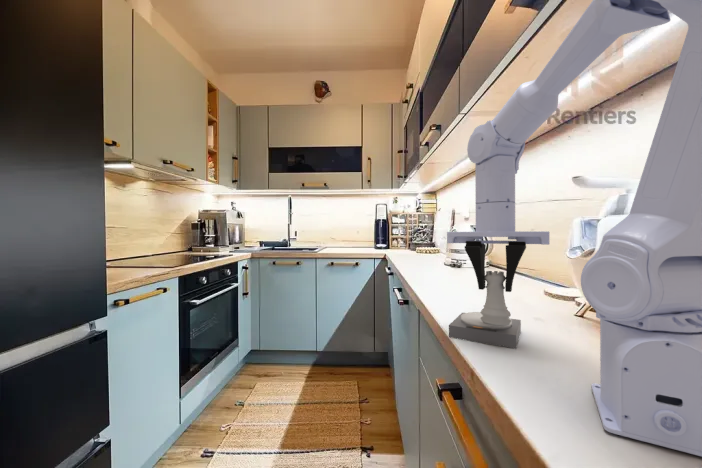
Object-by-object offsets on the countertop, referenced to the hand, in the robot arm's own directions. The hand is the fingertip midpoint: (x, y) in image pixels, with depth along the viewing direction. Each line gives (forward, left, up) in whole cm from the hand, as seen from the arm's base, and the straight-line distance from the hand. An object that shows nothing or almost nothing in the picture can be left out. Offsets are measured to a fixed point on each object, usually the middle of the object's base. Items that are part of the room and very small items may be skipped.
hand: (495, 289), depth 49 cm
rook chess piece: (0, 0, -5) cm, 5 cm away
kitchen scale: (+4, +2, -8) cm, 10 cm away
